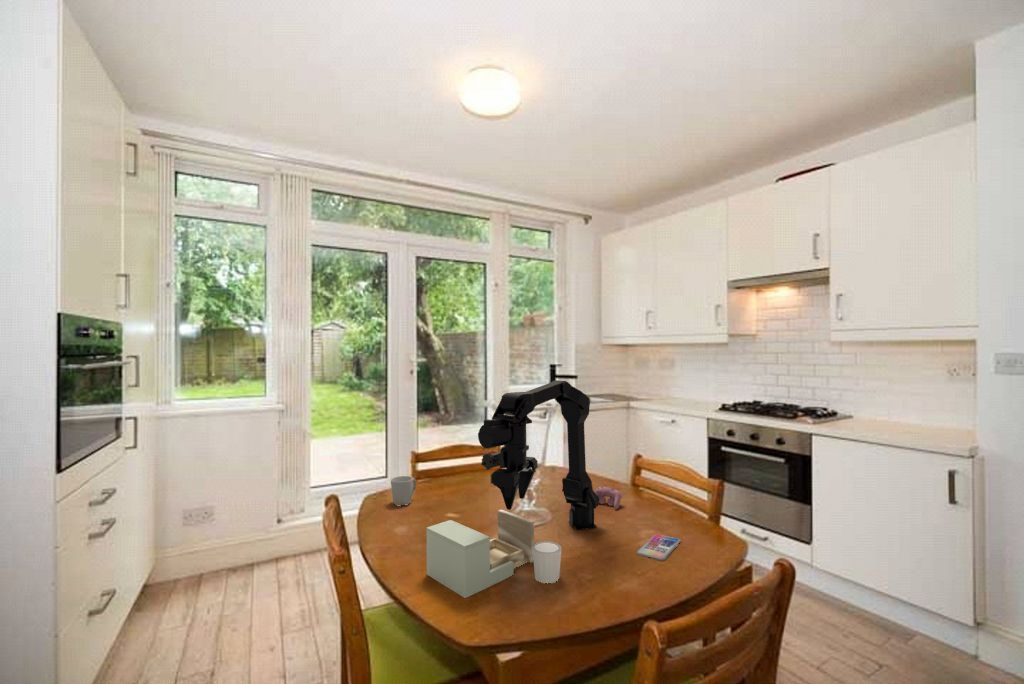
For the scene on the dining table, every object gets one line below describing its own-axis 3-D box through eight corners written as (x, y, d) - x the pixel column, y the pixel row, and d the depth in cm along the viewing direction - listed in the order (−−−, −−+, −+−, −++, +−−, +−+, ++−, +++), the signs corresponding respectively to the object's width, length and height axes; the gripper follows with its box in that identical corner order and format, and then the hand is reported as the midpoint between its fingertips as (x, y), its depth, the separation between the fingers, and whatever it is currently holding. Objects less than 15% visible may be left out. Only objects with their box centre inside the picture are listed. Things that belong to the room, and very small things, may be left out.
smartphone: (635, 552, 119) (655, 533, 131) (635, 556, 119) (655, 536, 131) (663, 559, 115) (681, 538, 127) (663, 563, 115) (682, 542, 127)
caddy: (474, 555, 119) (473, 512, 119) (513, 575, 109) (513, 527, 109) (426, 574, 109) (426, 527, 109) (465, 598, 99) (464, 546, 99)
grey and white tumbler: (560, 586, 103) (560, 554, 103) (529, 583, 105) (529, 552, 105) (563, 571, 110) (562, 542, 110) (534, 569, 111) (534, 539, 112)
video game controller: (621, 512, 154) (623, 490, 157) (616, 509, 151) (619, 487, 153) (593, 506, 159) (596, 486, 162) (588, 504, 156) (591, 483, 159)
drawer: (501, 547, 124) (501, 509, 124) (534, 561, 115) (533, 521, 115) (461, 563, 115) (461, 522, 115) (493, 580, 106) (493, 536, 106)
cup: (386, 504, 159) (385, 479, 159) (408, 496, 167) (408, 473, 167) (401, 509, 154) (400, 483, 154) (423, 500, 162) (423, 476, 163)
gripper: (500, 434, 131) (500, 490, 130) (470, 447, 113) (471, 511, 113) (538, 436, 126) (538, 494, 126) (513, 450, 109) (513, 517, 109)
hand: (515, 503), depth 119 cm, fingers open, 9 cm apart
